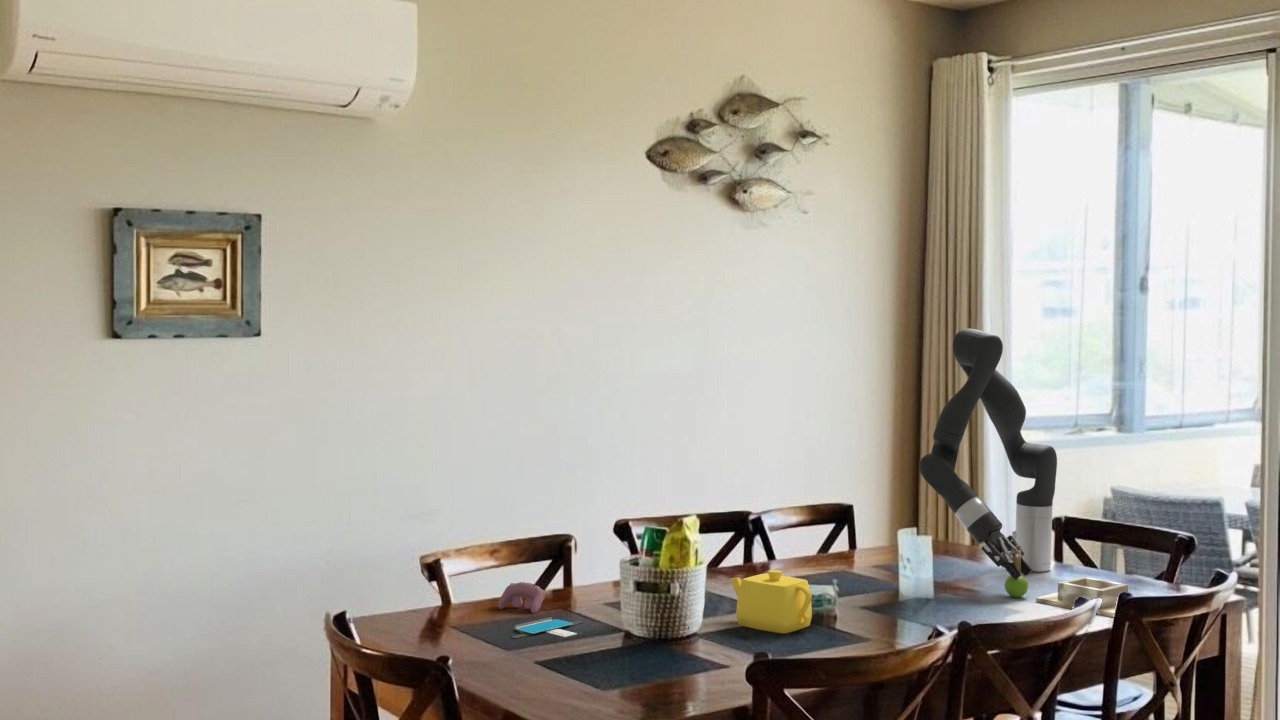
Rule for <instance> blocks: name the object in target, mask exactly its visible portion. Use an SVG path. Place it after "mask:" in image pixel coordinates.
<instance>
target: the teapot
mask: <svg viewBox="0 0 1280 720" xmlns="http://www.w3.org/2000/svg"><path fill="white" fill-rule="evenodd" d="M730 581H731V583H732V586H733V590H734V591H735V594H736V596H737V600H736V612H735V616H736V620H737V624H738V625H739V626H742V627H746V628H749V629H755V630H760V631H765V632H771V633H776V634H789V633H793V632H796V631H799V630H802V629H806V628H807V627H810V625H811V621H812V616H813V611H812V610H813V608H812V598H813V597H812V593H811V591H810V586H809V581H808V580H807V579H804V578H798V577H793V576H788V575H783V571H781V570H779V569H770V570H768V571H767V573H766V572H765V573H760V574H757V575H752V576H748V577H745V578H742V579H741V577H740V576H739V577H732V578H730Z"/></svg>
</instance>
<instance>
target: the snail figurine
mask: <svg viewBox="0 0 1280 720" xmlns="http://www.w3.org/2000/svg"><path fill="white" fill-rule="evenodd" d="M1016 547H1018V545H1016ZM1019 547H1021V545H1019ZM1020 555H1021V551H1020V550H1017V551H1016V555H1015V556H1014V559H1013V563H1014V565H1015V566H1016V567H1017V568H1018V569H1019V571H1020V572H1021V557H1020ZM1004 589H1005V591H1006V593H1007V594H1008V595H1009V596H1011V598H1012V597H1013V598H1021V597H1024V595H1025V594H1027V592H1028V590H1029V583H1028V580H1027V579H1026V578H1025V576H1024V575H1021V576H1020V577H1019V578H1018V579H1013V577H1012V576H1011V575H1009V576H1008V577H1007V578H1006V579H1005V581H1004Z"/></svg>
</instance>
